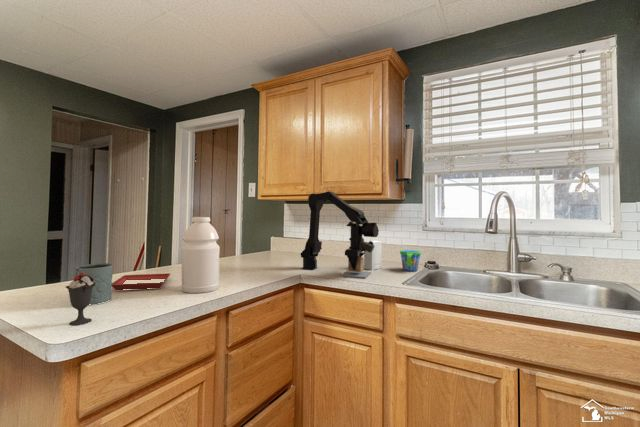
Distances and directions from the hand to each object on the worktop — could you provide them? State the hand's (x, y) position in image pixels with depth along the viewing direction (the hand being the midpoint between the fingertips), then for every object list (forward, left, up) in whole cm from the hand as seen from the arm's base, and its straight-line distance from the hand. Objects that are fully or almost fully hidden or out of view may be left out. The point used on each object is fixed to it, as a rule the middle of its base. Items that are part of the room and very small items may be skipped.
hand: (355, 268), depth 150 cm
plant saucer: (-74, -55, -4) cm, 92 cm away
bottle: (-49, -50, -4) cm, 70 cm away
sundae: (-53, -91, -4) cm, 105 cm away
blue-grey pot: (-69, -77, -4) cm, 103 cm away
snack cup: (+23, +24, -4) cm, 33 cm away
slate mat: (0, 0, -3) cm, 3 cm away
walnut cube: (0, 0, -1) cm, 1 cm away
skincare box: (+4, +20, -4) cm, 21 cm away
